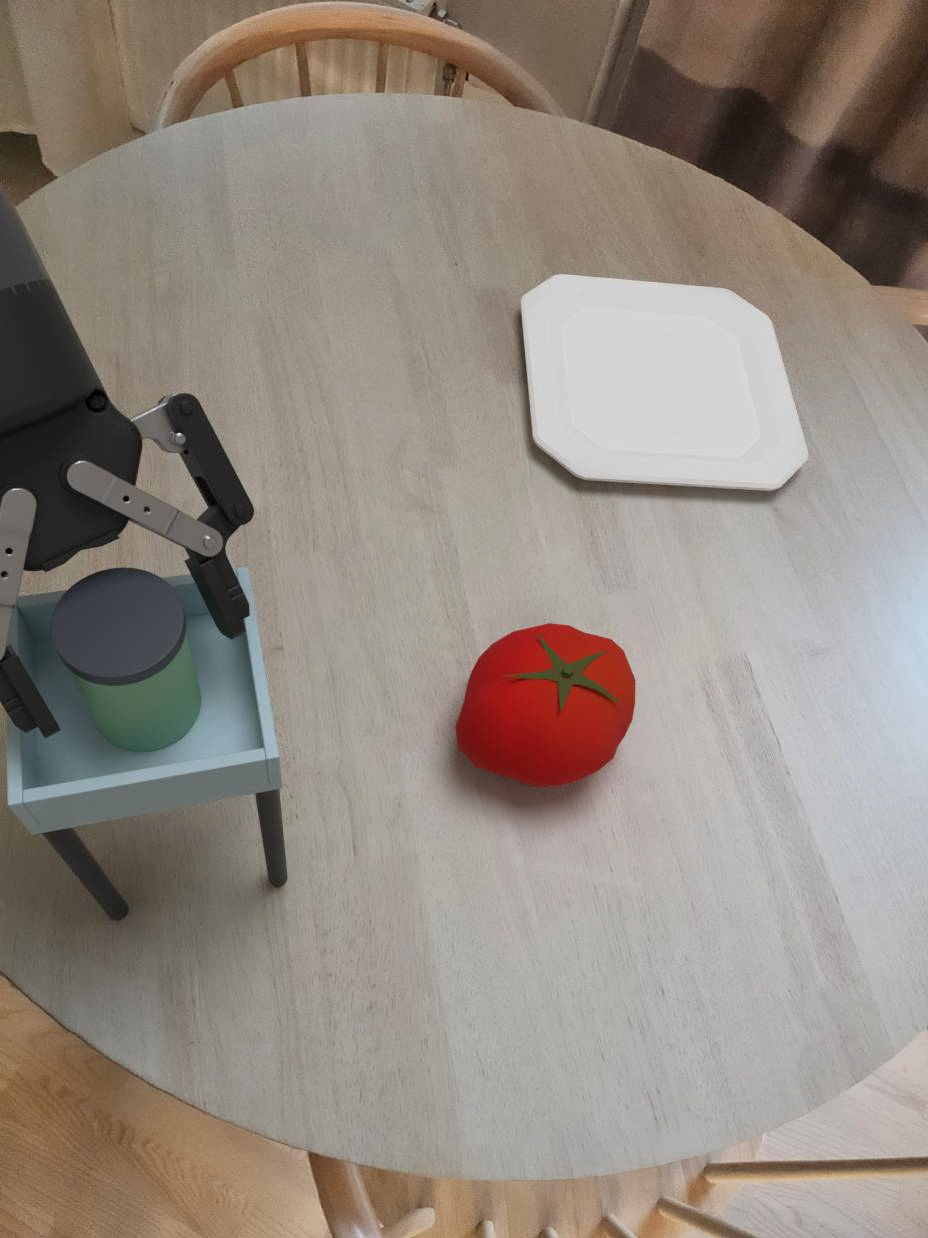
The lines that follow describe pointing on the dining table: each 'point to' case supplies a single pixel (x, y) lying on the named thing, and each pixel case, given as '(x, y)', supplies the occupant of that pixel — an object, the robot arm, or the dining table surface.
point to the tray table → (154, 780)
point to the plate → (658, 384)
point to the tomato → (547, 705)
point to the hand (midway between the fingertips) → (146, 679)
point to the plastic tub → (129, 656)
